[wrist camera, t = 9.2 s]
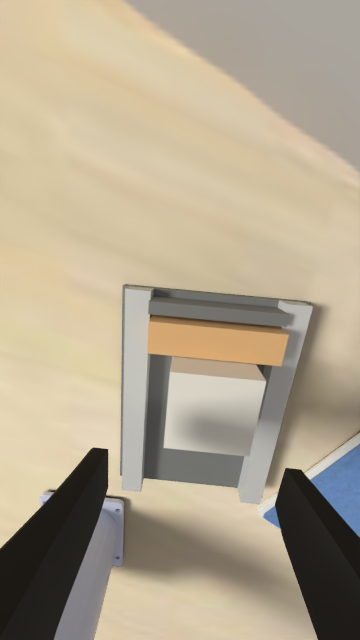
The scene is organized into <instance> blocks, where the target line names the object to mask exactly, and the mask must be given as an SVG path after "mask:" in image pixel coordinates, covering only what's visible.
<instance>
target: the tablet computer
mask: <svg viewBox="0 0 360 640" xmlns="http://www.w3.org/2000/svg"><path fill="white" fill-rule="evenodd" d="M304 474H305V475H306V476H307V477H308V478H309V480H310V481H311V482H312V483H313V484H314V485H315V487H316V488H317V489H318V490H319V491H320V493H321V494H322V495H323V496H324V497H325V498H326V500H327V501H328V502H329V503H330V504H331V505H332V507H333V508H334V509H335V510H336V511H337V512H338V514H339V515H340V516H341V517H342V518H343V519H344V520H345V522H346V523H347V524H348V525H349V526H350V527H351V528H352V530H353V531H354V532H355V533H356V534H357V535H358V536H359V537H360V432H359V433H358V434H357V435H355V436H354V437H353V438H351V439H350V440H348V441H347V442H346V443H344V444H343V445H342V446H340V447H339V448H338V449H336V450H335V451H334V452H332V453H331V454H329V455H328V456H327V457H325V458H324V459H323V460H321V461H320V462H319V463H317V464H316V465H314V466H313V467H312V468H310V469H309V470H308V471H306V472H305V473H304ZM278 492H279V491H278ZM278 492H277V493H275V494H274V495H273V496H271V497H270V498H268V499H267V500H266V501H264V502H263V503H262V504H260V505H259V506H258V508H257V511H258V513H259V516H260V517H261V518H262V519H263V520H265V521H266V522H268V523H270V524H271V525H273V526H274V527H276V528H277V529H279V530H280V531H281V529H280V525H279V521H278V517H277V513H276V508H275V502H276V498H277V495H278Z"/></svg>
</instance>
